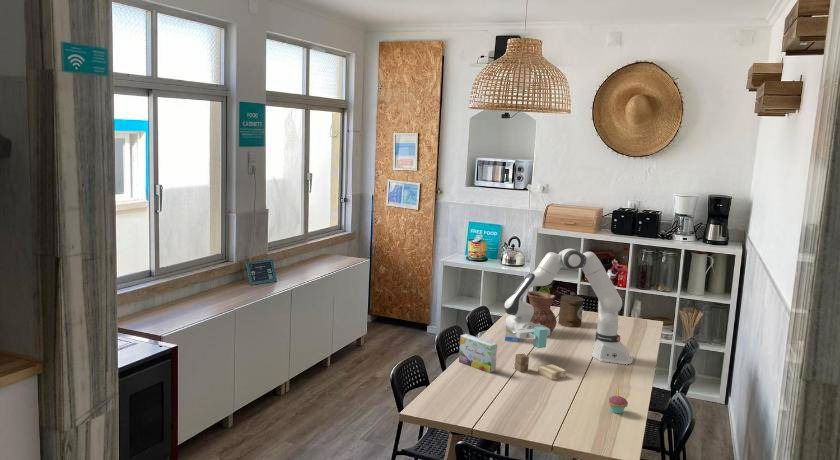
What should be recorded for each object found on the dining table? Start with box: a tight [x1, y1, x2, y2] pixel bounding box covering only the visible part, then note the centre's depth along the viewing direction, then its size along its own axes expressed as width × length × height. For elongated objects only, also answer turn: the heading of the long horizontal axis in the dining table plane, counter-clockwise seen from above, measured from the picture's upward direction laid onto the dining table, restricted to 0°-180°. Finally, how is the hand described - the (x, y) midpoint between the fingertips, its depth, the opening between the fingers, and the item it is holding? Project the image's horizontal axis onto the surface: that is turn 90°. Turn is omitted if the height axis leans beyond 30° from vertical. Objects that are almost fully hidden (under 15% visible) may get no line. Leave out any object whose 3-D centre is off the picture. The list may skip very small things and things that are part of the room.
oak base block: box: [537, 363, 567, 381], centre depth 345 cm, size 10×10×4 cm
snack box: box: [458, 333, 498, 374], centre depth 351 cm, size 21×6×15 cm, turn 47°
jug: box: [525, 290, 557, 334], centre depth 418 cm, size 22×21×25 cm
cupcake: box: [608, 386, 629, 414], centre depth 303 cm, size 9×8×12 cm
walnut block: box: [514, 353, 530, 373], centre depth 350 cm, size 5×5×8 cm
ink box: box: [504, 325, 520, 343], centre depth 402 cm, size 9×8×12 cm
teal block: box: [532, 327, 548, 349], centre depth 356 cm, size 5×5×10 cm
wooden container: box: [558, 291, 584, 328], centre depth 441 cm, size 15×15×22 cm
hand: (541, 336), depth 355 cm, fingers closed on teal block, 5 cm apart
